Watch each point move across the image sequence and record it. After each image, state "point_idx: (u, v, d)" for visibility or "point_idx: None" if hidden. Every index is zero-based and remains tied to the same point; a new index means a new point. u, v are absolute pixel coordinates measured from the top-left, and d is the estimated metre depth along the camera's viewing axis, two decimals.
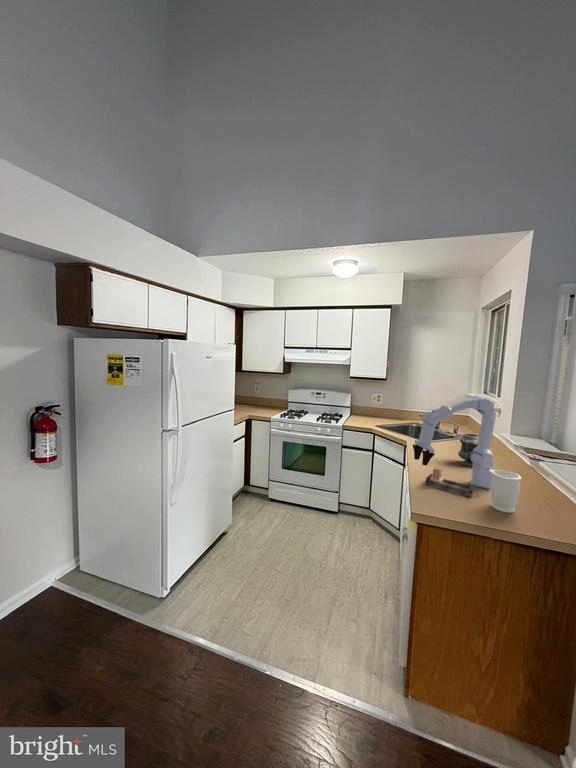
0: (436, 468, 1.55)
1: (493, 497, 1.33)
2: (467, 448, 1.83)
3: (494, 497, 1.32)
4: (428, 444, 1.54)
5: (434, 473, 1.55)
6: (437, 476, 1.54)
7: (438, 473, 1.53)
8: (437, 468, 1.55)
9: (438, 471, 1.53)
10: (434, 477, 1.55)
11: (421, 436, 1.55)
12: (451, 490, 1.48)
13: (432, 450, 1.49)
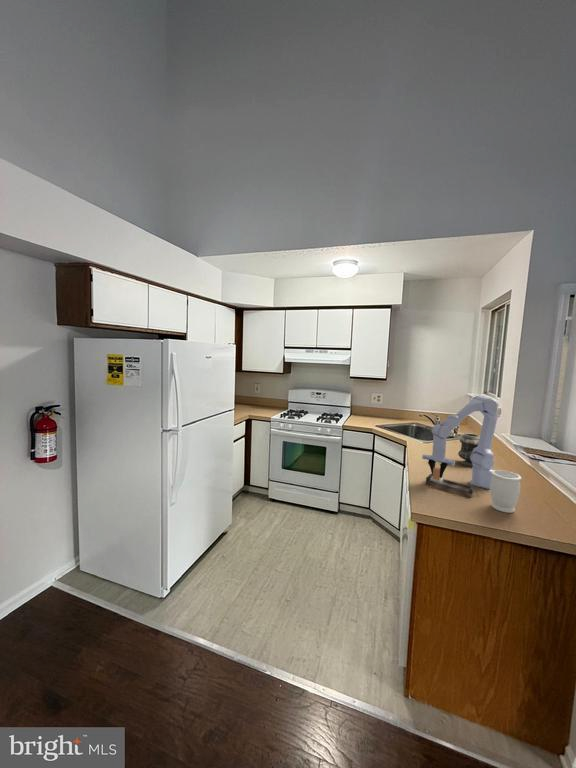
0: (436, 468, 1.55)
1: (493, 497, 1.33)
2: (467, 448, 1.83)
3: (494, 497, 1.32)
4: (444, 457, 1.53)
5: (434, 473, 1.55)
6: (437, 476, 1.54)
7: (438, 473, 1.53)
8: (437, 468, 1.55)
9: (438, 471, 1.53)
10: (434, 477, 1.55)
11: (438, 451, 1.52)
12: (451, 490, 1.48)
13: (454, 462, 1.50)
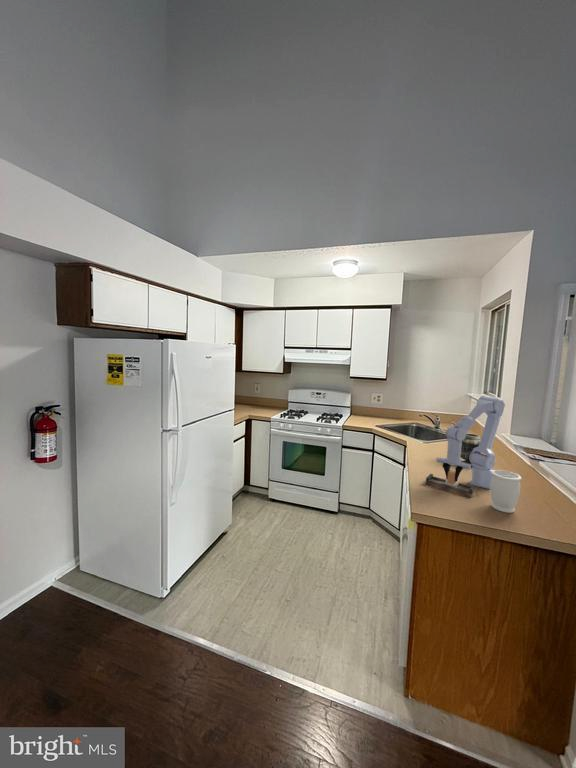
0: (451, 472, 1.51)
1: (493, 497, 1.33)
2: (467, 448, 1.83)
3: (494, 497, 1.32)
4: None
5: (449, 477, 1.50)
6: (452, 480, 1.50)
7: (453, 477, 1.49)
8: (452, 472, 1.51)
9: (453, 475, 1.49)
10: (449, 481, 1.50)
11: (453, 455, 1.48)
12: (451, 490, 1.48)
13: (470, 466, 1.46)
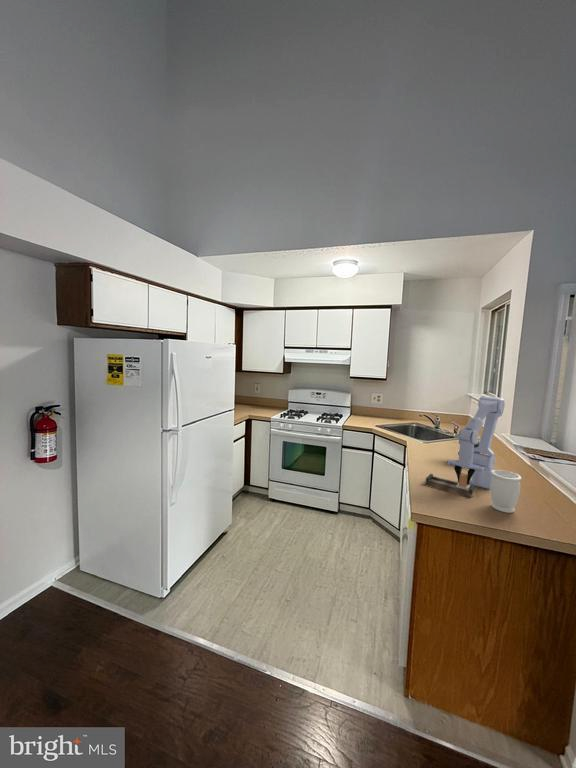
0: (463, 474, 1.48)
1: (493, 497, 1.33)
2: None
3: (494, 497, 1.32)
4: (472, 463, 1.46)
5: (461, 480, 1.47)
6: (464, 483, 1.46)
7: (465, 480, 1.46)
8: (464, 474, 1.48)
9: (465, 478, 1.46)
10: (461, 484, 1.47)
11: (465, 457, 1.45)
12: (451, 490, 1.48)
13: (483, 469, 1.43)
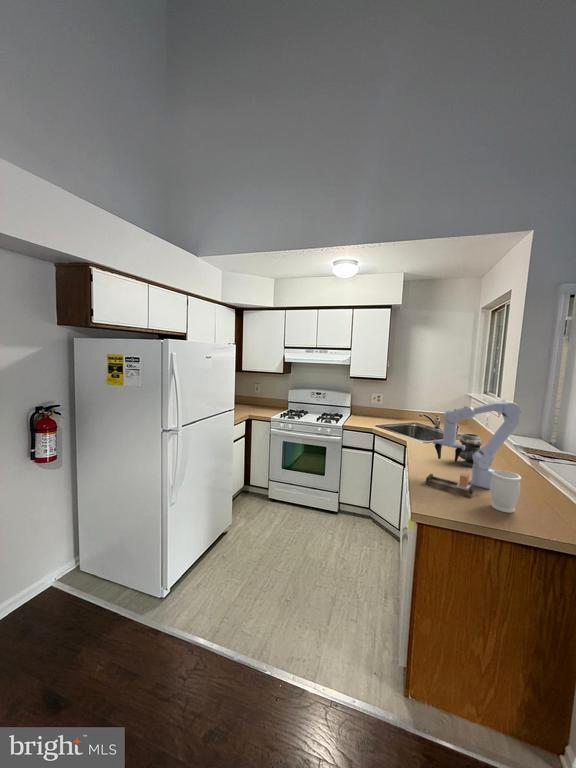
0: (463, 474, 1.48)
1: (493, 497, 1.33)
2: (467, 448, 1.83)
3: (494, 497, 1.32)
4: None
5: (461, 480, 1.47)
6: (464, 483, 1.46)
7: (465, 480, 1.46)
8: (464, 474, 1.48)
9: (465, 478, 1.46)
10: (461, 484, 1.47)
11: (449, 436, 1.58)
12: (451, 490, 1.48)
13: (464, 447, 1.56)
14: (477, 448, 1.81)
